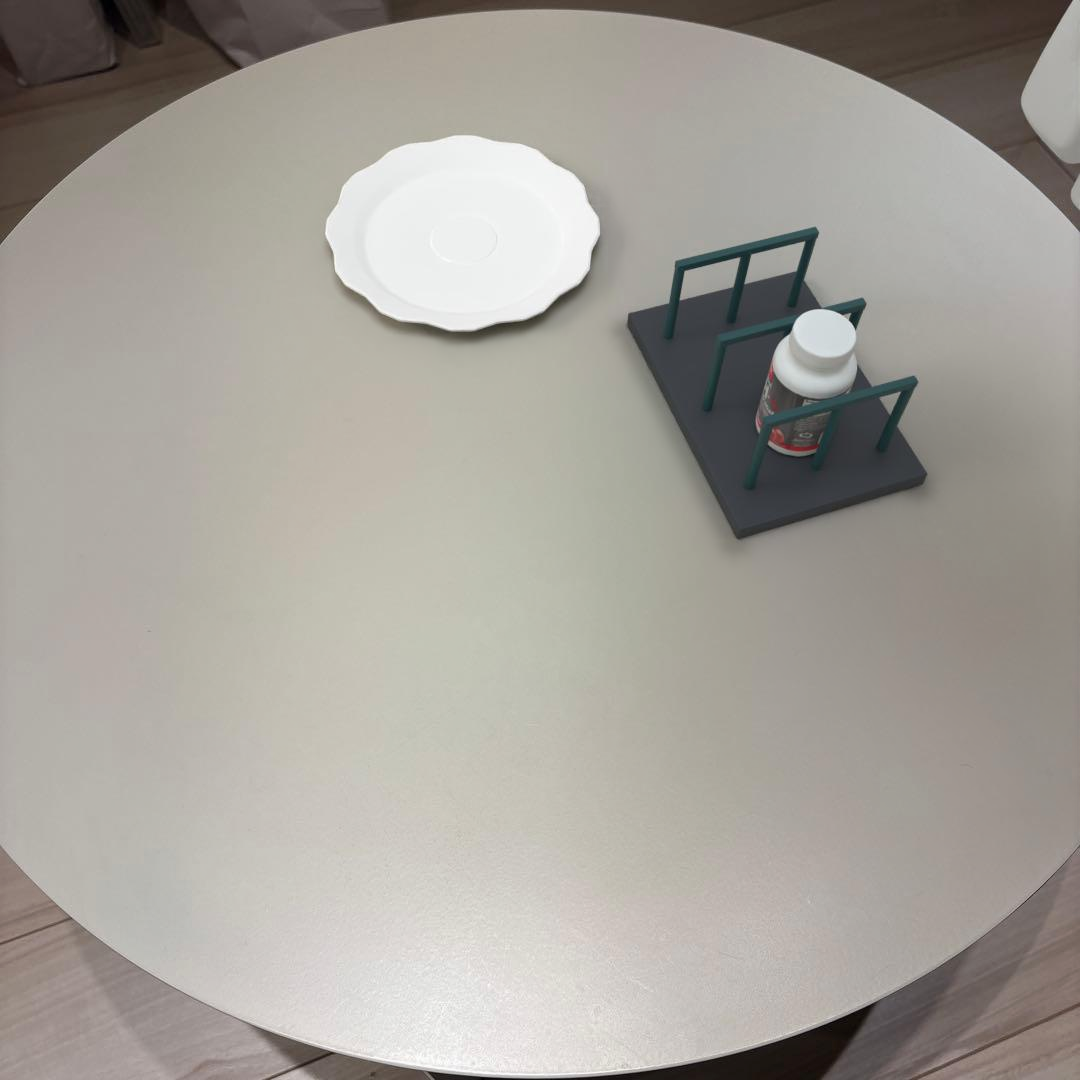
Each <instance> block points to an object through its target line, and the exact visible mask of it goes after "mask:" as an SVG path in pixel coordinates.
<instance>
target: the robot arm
mask: <svg viewBox="0 0 1080 1080" xmlns="http://www.w3.org/2000/svg"><path fill="white" fill-rule="evenodd" d="M1030 73H1031V74H1030V75H1029V77H1028V79H1027V82H1026V84H1025V86H1024V87H1023V90H1022V93H1021V97H1020V105H1021V109H1022V112H1023V115H1024V116H1025V118H1026V120H1027V122H1028V124H1029V125H1030V127H1031V128H1032V129H1033V130H1034V132H1035V133H1036V134H1037V136H1038V137H1039V138H1040V139H1041V140H1042V142H1044V144H1046V146H1047V147H1048V148H1049V149H1050V150H1051V151H1052V152H1053V153H1054V155H1056V157H1058V159H1060V160H1061V161H1062V162H1064V163H1066V164H1070V165H1071V164H1072V165H1074V164H1080V0H1072V1H1071V3H1070V4H1069V5H1068V7H1067V9H1066V11H1065V12H1064V14H1063V15H1062V17H1061V19H1060V21H1059V23H1058V24H1057V26H1056V28H1055V30H1054V31H1053V33H1052V35H1051V37H1050V38H1049V40H1048V42H1047V44H1046V46H1045V47H1044V48H1043V51H1042V53H1041V54H1040V56H1039V58H1038V60H1037V62H1036V63H1035V66H1034V67H1033V69H1032V72H1030ZM1070 200H1071V202H1072V204H1073V205H1074V206H1075V207H1076V209H1077V210H1078V211H1079V212H1080V173H1079V174H1078V176H1077V178H1076V180H1075V182H1074V184H1073V185H1072V187H1071V190H1070Z"/></svg>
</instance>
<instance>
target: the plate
mask: <svg viewBox="0 0 1080 1080" xmlns="http://www.w3.org/2000/svg"><path fill="white" fill-rule="evenodd" d="M324 236H325V239H326V241H327V243H328V245H329V247H330V248H331V249H330V250H332V254H333V263H334V265H333V266H334V271H335V274H336V275H337V276H338V278H339V279H340V281H341V283H342V284H343V285H344V286H345V287H347V288H348V289H350V290H352V291H353V292H355V293H357V294H359V295H360V296H362V297H364V298H365V299H366V300H367V301H368V302H369V303H370V304H371V305H372V306H373V308H375V309H376V311H378V312H379V314H382V315H384V316H387V317H389V318H391V319H393V320H396V321H398V322H402V323H414V324H424V325H429V326H431V327H435V328H438V329H442V330H445V331H447V332H476V331H479V330H482V329H485V328H488V327H492V326H494V325H495V326H496V325H498V324H505V323H506V324H507V323H515V322H524V321H527V320H530V319H531V318H534V317H536V316H538V315H541V314H542V313H545V312H546V311H547V310H548V309H549V307H550V306H552V305H553V304H554V303H555V301H556V300H557V299H558V298H559V297H561V296H562V295H564V294H566V293H568V292H570V291H571V290H573V289H574V288H576V287H578V286H580V284H581V283H582V282H583V280H584V279H585V277H586V276H587V275H588V273H589V272H590V271H591V270H590V269H591V260H592V253H593V250H594V249H595V246H596V244H597V242H598V241H599V238H600V236H601V225H600V217H599V216H598V214H597V213H596V211H595V210H594V209H593V207H592V205H591V204H590V202H589V199H588V194H587V192H586V188H585V185H584V183H582V181H581V180H580V179H579V178H578V177H577V176H576V175H575V174H574V173H573V172H572V171H569V170H567V169H566V168H564V167H562V166H560V165H558V164H556V163H554V162H553V161H551V160H550V159H549V158H548V157H547V156H546V155H544V154H543V153H542V152H541V151H540V150H538V149H536V148H533V147H531V146H528V145H525V144H523V143H518V142H509V141H507V142H505V141H497V140H493V139H489V138H486V137H483V136H478V135H471V134H470V135H469V134H468V135H467V134H466V135H465V134H464V135H462V134H461V135H460V134H459V135H457V134H455V135H450V136H447V137H443V138H440V139H436V140H432V141H423V142H411V143H406V144H403V145H401V146H398V147H395V148H393V149H391V150H389V151H388V152H386V153H385V154H384V155H382V157H380V158H379V159H378V160H377V161H376V162H374V163H373V164H371V165H369V166H366V167H365V168H363V169H361V170H359V171H357V172H354V173H353V174H352V175H351V177H350V178H349V179H348V180H347V181H345V183H344V184H343V185H342V187H341V191H340V194H339V198H338V201H337V204H336V205H335V206H334V208H333V210H332V211H331V213H330V214H329V215H328V216H327V218H326V223H325V234H324Z"/></svg>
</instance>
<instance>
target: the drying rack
mask: <svg viewBox="0 0 1080 1080" xmlns="http://www.w3.org/2000/svg"><path fill="white" fill-rule="evenodd" d="M819 235H820V231H819V229H818V228H817V226H813V227H809V228H808V227H807V228H804V229H800V230H796V231H792V232H788V233H784V234H779V235H775V236H772V237H768V238H763V239H759V240H755V241H751V242H746V243H742V244H738V245H735V246H731V247H726V248H722V249H718V250H714V251H710V252H706V253H702V254H698V255H693V256H689V257H685V258H682V259H677V260H675V261H674V271H673V276H672V283H671V289H670V294H669V301H668V303H664V304H660V305H655V306H652V307H648V308H644V309H641V310H637V311H632V312H629V313H628V314H627V322H626V324H627V327H628V329H629V331H630V333H631V334H632V337H633V339H634V341H635V343H636V344H637V346H638V348H639V350H640V352H641V354H642V356H643V358H644V360H645V362H646V364H647V366H648V367H649V370H650V371H651V374H652V375H653V378H654V380H655V381H656V383H657V385H658V387H659V389H660V390H661V393H662V395H663V397H664V399H665V401H666V402H667V404H668V406H669V409H670V410H671V412H672V414H673V417H674V418H675V420H676V422H677V424H678V426H679V428H680V430H681V432H682V434H683V436H684V438H685V440H686V441H687V444H688V445H689V447H690V449H691V452H692V453H693V455H694V457H695V459H696V461H697V463H698V465H699V467H700V469H701V470H702V473H703V475H704V477H705V478H706V480H707V482H708V484H709V486H710V488H711V490H712V492H713V494H714V496H715V498H716V500H717V502H718V504H719V505H720V507H721V510H722V511H723V514H724V516H725V517H726V519H727V521H728V523H729V525H730V527H731V529H732V531H733V533H734V535H735V537H736V539H741V538H745V537H749V536H752V535H755V534H758V533H761V532H765V531H768V530H772V529H775V528H778V527H782V526H785V525H788V524H792V523H795V522H796V523H797V522H799V521H803V520H805V519H809V518H813V517H815V516H819V515H822V514H826V513H830V512H832V511H835V510H839V509H843V508H846V507H849V506H852V505H856V504H860V503H864V502H866V501H870V500H873V499H876V498H879V497H883V496H886V495H890V494H893V493H896V492H900V491H903V490H907V489H909V488H913V487H917V486H920V485H923V484H924V482H925V480H926V479H927V477H928V472H927V471H926V469H925V467H924V466H923V464H922V463H921V462H920V460H919V458H918V456H917V455H916V453H915V452H914V450H913V449H912V447H911V445H910V444H909V442H908V441H907V439H906V438H905V436H904V434H903V433H902V431H901V430H900V427H898V425H899V423H900V421H901V419H902V417H903V415H904V413H905V410H906V408H907V406H908V404H909V403H910V400H911V398H912V395H913V393H914V391H915V389H916V388H917V386H918V385H919V380H918V378H917V376H915V375H910V376H906V377H902V378H899V379H896V380H893V381H892V380H891V381H889V382H885V383H881V384H878V385H874V386H872V384H871V383H870V380H869V379H868V378H867V377H866V374H865V373H864V372H863V370H862V368H861V367H860V366H859V364H858V363H857V373H856V377H855V380H854V382H853V385H852V387H851V390H850V392H849V393H848V394H845V395H841V396H838V397H834V398H830V399H827V400H823V401H819V402H816V403H812V404H809V405H805V406H801V407H798V408H794V409H791V410H787V411H783V412H780V413H776V414H772V415H769V416H765V417H763V421H762V426H761V429H760V433H758V430H757V427H756V415H757V411H758V407H759V404H760V400H761V397H762V393H763V390H764V386H765V383H766V380H767V376H768V373H769V369H770V366H771V362H772V359H773V355H774V352H775V350H776V348H777V346H778V344H779V343H780V342H781V341H782V340H783V339H784V338H785V337H786V336H788V335H789V334H790V333H791V331H792V328H793V325H794V323H795V321H796V320H797V319H798V317H799V316H801V315H802V314H803V313H805V312H808V311H811V310H816V309H825V310H831V311H834V312H837V313H839V314H841V315H843V316H846V315H849V314H850V315H849V317H848V320H849V321H850V322H851V323H852V325H853V326H854V328H855V331H856V332H857V329H858V326H859V325H860V321H861V318H862V316H863V313H864V310H866V307H867V304H868V303H867V301H866V299H864V297H859V298H855V299H852V300H847V301H844V302H843V301H842V302H840V303H836V304H831V305H829V306H824V307H822V306H821V304H820V303H819V301H818V299H817V298H816V296H815V295H814V293H813V292H812V290H811V288H810V287H809V286H808V283H807V282H806V281H805V279H806V276H807V272H808V268H809V265H810V261H811V260H812V255H813V252H814V249H815V246H816V242H817V239H818V238H819ZM799 243H804V244H803V248H802V251H801V255H800V258H799V262H798V264H797V268H796V270H795V271H792V272H788V273H784V274H779V275H776V276H772V277H768V278H764V279H760V280H756V281H753V282H747V283H746V280H747V275H748V271H749V266H750V262H751V259H752V255H755V254H756V255H757V254H760V253H763V252H768V251H771V250H776V249H780V248H784V247H788V246H792V245H796V244H799ZM735 259H739V261H738V266H737V269H736V270H737V271H736V275H735V279H734V284H733V286H732V287H728V288H725V289H719V290H716V291H712V292H708V293H704V294H701V295H697V296H692V297H688V298H684V299H681V294H682V289H683V284H684V278H685V272H687V271H691V270H695V269H699V268H703V267H707V266H712V265H714V264H718V263H719V264H720V263H724V262H727V261H731V260H735ZM680 299H681V300H680ZM897 393H899V395H898V398H897V399H896V402H895V404H894V405H893V409H892V410H891V412H889V411H888V410H887V408H886V406H885V404H884V403H883V401H882V400H881V398H884V397H886V396H890V395H894V394H897ZM829 411H831V414H830V416H829V419H828V421H827V424H826V427H825V429H824V432H823V434H822V437H821V440H820V442H819V445H818V448H817V450H816V453H813V454H810V455H806V456H791V455H786V454H783V453H780V452H778V451H776V450H774V449H773V448H771V447H770V446H769V445H768V442H769V439H770V435H771V432H772V429H773V427H776V426H779V425H783V424H786V423H790V422H794V421H797V420H801V419H804V418H808V417H812V416H815V415H819V414H822V413H826V412H829Z"/></svg>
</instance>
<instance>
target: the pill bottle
mask: <svg viewBox="0 0 1080 1080" xmlns="http://www.w3.org/2000/svg"><path fill="white" fill-rule="evenodd" d="M856 343H857V330H856V331H855V328H854V326H853V325H852V323H851V322H850V321H849V318H847V317H846V316H845V315H841V314H839V313H837V312H834V311H831V310H825V309H816V310H811V311H808V312H805V313H803V314H802V315H801V316H799V317H798V319H797V320H796V321H795V323H794V325H793V328H792V331H791V333H790V334H789V335H788V336H786V337H785V338H784V339H783V340H782V341H781V342H780V343H779V344H778V346H777V348H776V350H775V352H774V355H773V359H772V362H771V366H770V369H769V373H768V376H767V380H766V383H765V386H764V390H763V393H762V397H761V400H760V404H759V407H758V411H757V415H756V427H757V430H758V433H760V429H761V426H762V421H763V417H765V416H769V415H772V414H776V413H780V412H783V411H787V410H791V409H794V408H798V407H801V406H805V405H809V404H812V403H816V402H819V401H823V400H827V399H830V398H834V397H838V396H841V395H845V394H848V393H849V392H850V390H851V387H852V385H853V382H854V380H855V377H856V373H857V364H858V361H857V358H856V357H857V356H856V354H855V352H854V349H855V347H856ZM830 414H831V411H829V412H826V413H822V414H819V415H815V416H812V417H808V418H804V419H801V420H797V421H794V422H790V423H786V424H783V425H779V426H776V427H773V429H772V432H771V435H770V439H769V442H768V445H769V446H770V447H771V448H773V449H774V450H776V451H778V452H780V453H783V454H786V455H791V456H806V455H810V454H813V453H816V450H817V448H818V445H819V442H820V440H821V437H822V434H823V432H824V429H825V427H826V424H827V421H828V419H829V416H830Z"/></svg>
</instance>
